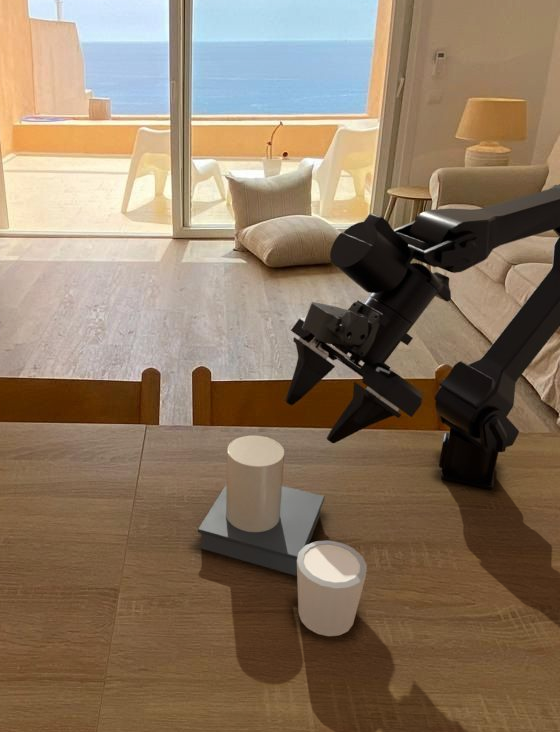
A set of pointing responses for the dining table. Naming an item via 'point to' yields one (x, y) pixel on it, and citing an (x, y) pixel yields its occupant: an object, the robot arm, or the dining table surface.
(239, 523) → the cream pillar candle
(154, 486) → the dining table surface
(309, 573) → the shot glass
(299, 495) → the storage box
